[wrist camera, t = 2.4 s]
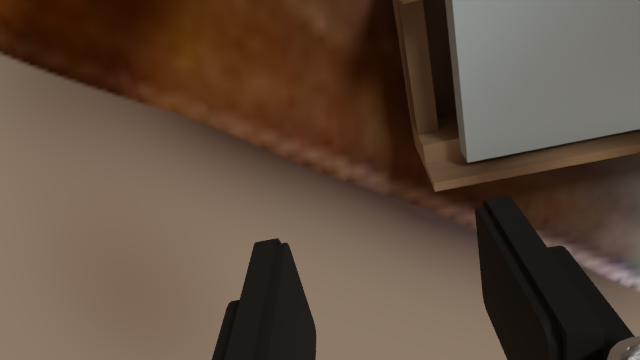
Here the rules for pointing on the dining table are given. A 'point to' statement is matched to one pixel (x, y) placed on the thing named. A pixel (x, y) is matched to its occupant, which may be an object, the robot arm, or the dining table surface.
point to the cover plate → (542, 72)
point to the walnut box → (441, 117)
